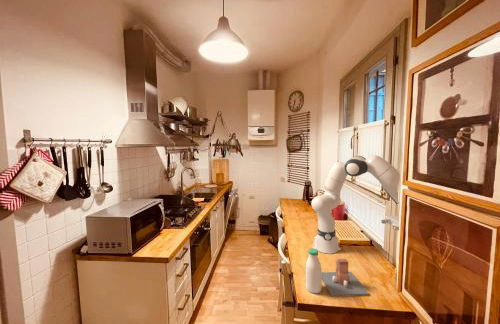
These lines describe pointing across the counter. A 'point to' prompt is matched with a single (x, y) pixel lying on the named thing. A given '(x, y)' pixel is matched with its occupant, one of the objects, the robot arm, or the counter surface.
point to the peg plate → (343, 290)
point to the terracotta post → (341, 270)
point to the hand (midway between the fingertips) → (387, 224)
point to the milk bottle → (313, 272)
